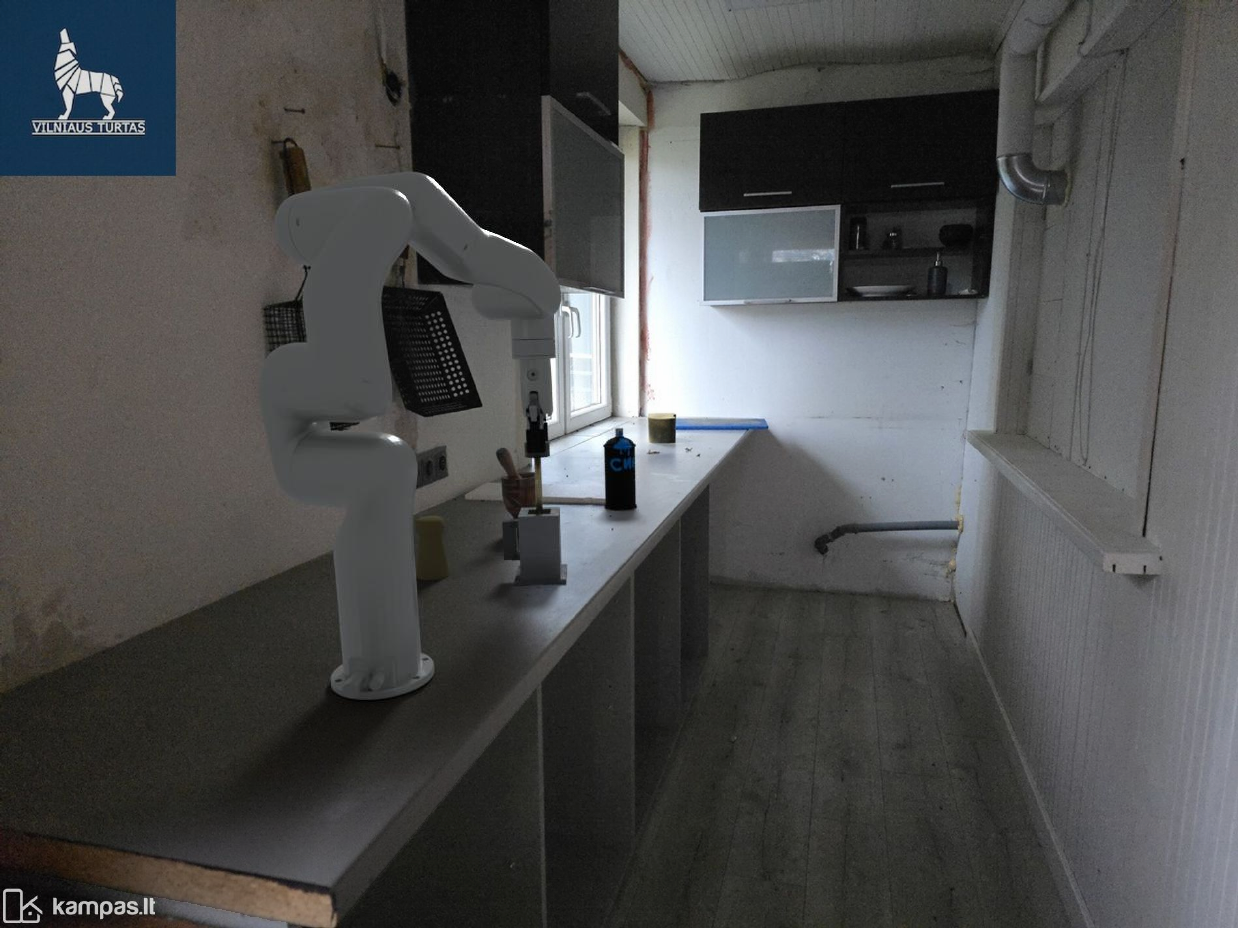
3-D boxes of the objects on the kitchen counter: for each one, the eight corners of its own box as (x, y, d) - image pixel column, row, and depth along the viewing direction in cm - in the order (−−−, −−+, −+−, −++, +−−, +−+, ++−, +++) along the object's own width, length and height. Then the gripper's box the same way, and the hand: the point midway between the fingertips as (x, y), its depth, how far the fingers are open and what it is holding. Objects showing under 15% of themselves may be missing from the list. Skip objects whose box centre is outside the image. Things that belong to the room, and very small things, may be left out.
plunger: (551, 526, 133) (549, 444, 131) (526, 527, 133) (523, 444, 131) (552, 520, 138) (550, 440, 135) (528, 521, 138) (525, 441, 135)
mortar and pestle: (534, 542, 160) (531, 448, 157) (494, 541, 161) (490, 448, 158) (546, 528, 172) (543, 441, 168) (509, 528, 173) (505, 441, 169)
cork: (441, 581, 136) (437, 521, 134) (410, 579, 137) (406, 520, 135) (455, 570, 142) (452, 513, 140) (425, 569, 143) (421, 512, 141)
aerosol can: (599, 505, 194) (597, 427, 191) (628, 502, 197) (627, 425, 194) (612, 511, 187) (610, 431, 183) (642, 508, 190) (641, 428, 187)
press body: (566, 583, 133) (564, 516, 131) (502, 585, 132) (499, 518, 130) (567, 568, 142) (565, 505, 140) (507, 570, 141) (504, 507, 139)
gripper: (553, 351, 122) (557, 456, 125) (557, 348, 139) (560, 440, 142) (507, 352, 122) (512, 457, 125) (516, 349, 139) (520, 441, 142)
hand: (538, 448), depth 134 cm, fingers open, 9 cm apart
